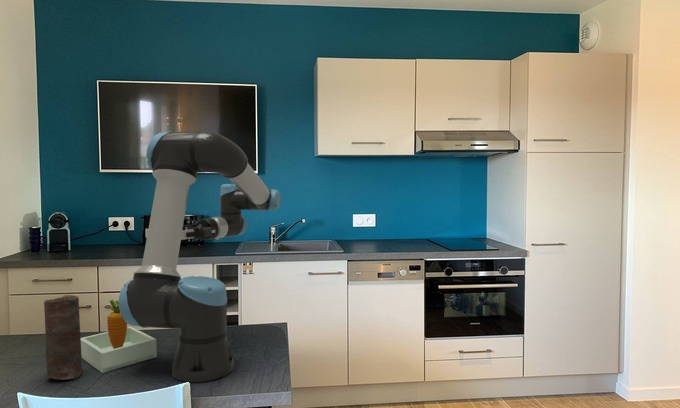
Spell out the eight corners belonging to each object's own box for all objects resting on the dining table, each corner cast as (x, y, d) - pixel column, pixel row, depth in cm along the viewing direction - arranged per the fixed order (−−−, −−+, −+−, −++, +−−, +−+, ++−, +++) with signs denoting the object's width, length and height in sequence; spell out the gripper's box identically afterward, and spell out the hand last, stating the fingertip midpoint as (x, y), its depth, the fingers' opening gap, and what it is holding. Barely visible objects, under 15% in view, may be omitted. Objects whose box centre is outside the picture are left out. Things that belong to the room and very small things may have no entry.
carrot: (131, 349, 124) (130, 296, 123) (121, 356, 119) (119, 301, 118) (115, 349, 124) (114, 296, 124) (103, 355, 119) (102, 301, 119)
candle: (46, 386, 103) (44, 302, 103) (45, 375, 109) (43, 295, 109) (84, 378, 108) (82, 297, 107) (80, 368, 114) (79, 291, 113)
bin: (156, 356, 121) (156, 339, 121) (102, 373, 111) (102, 353, 111) (130, 342, 132) (130, 326, 132) (79, 356, 121) (79, 338, 121)
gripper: (238, 241, 149) (190, 249, 130) (186, 237, 161) (134, 243, 142) (238, 219, 149) (189, 224, 130) (186, 216, 161) (134, 220, 142)
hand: (160, 234), depth 136 cm, fingers open, 13 cm apart
